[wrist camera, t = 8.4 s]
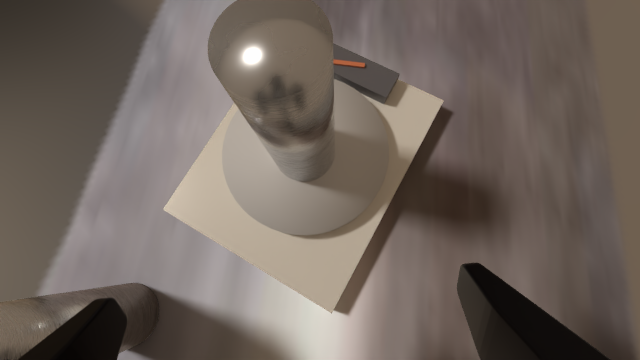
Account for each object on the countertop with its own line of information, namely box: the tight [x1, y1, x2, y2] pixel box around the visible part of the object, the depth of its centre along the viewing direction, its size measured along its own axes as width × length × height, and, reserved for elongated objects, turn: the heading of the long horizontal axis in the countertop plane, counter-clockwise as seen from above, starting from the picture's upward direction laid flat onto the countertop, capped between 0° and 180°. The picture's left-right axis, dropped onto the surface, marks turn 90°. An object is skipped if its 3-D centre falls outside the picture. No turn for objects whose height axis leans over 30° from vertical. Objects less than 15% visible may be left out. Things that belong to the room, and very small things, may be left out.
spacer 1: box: [0, 283, 159, 360], centre depth 16 cm, size 4×4×11 cm
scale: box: [163, 43, 443, 313], centre depth 22 cm, size 16×13×2 cm
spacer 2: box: [208, 0, 335, 182], centre depth 15 cm, size 4×4×11 cm
